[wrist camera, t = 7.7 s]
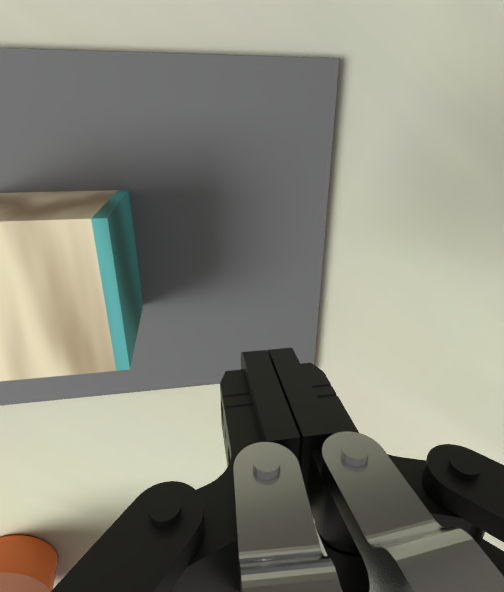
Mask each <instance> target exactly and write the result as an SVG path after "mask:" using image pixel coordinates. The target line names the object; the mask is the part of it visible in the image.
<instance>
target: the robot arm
mask: <svg viewBox="0 0 504 592" xmlns="http://www.w3.org/2000/svg"><path fill="white" fill-rule="evenodd" d="M220 392H221V418H222V430H223V437H224V444H225V450H226V458H227V465H228V467H227V469H226V470H225V472H224V473H223V474H222V475H221V476H220V477H219V478H218V479H216V480H215V481H213V482H212V483H210V484H208V485H206V486H203V487H201V488H199V489H197V490H195V489H194V488H193V487H191V486H190V485H188V484H185V483H182V482H175V481H170V482H163V483H159V484H157V485H154V486H152V487H150V488H148V489H147V490H145V491H144V492H143V493H141V494H140V495H139V496H138V497H137V498H136V499H135V500H134V502H133V503H132V504H131V505H130V506H129V507H128V508H127V509H126V510H125V511H124V512H123V514H122V515H121V516H120V517H119V518H118V519H117V520H116V521H115V522H114V523H113V524H112V526H111V527H110V528H109V529H108V530H107V531H106V532H105V533H104V534H103V535H102V536H101V537H100V539H99V540H98V541H97V542H96V543H95V544H94V545H93V546H92V547H91V548H90V549H89V551H88V552H87V553H86V554H85V555H84V556H83V557H82V558H81V559H80V560H79V561H78V563H77V564H76V565H75V566H74V567H73V568H72V569H71V570H70V571H69V572H68V573H67V575H66V576H65V577H64V578H63V579H62V580H61V581H60V582H59V583H58V584H57V585H56V587H55V588H54V589H53V590H52V591H51V592H504V551H502V550H500V549H499V548H497V547H495V546H494V545H492V544H490V543H489V542H487V541H485V540H484V539H482V538H483V536H484V533H485V532H487V533H488V534H490V535H492V536H494V537H495V538H497V539H499V540H500V541H502V542H504V465H502V464H500V463H498V462H496V461H494V460H491V459H489V458H487V457H485V456H483V455H481V454H479V453H477V452H475V451H473V450H470V449H468V448H465V447H462V446H458V445H451V444H444V445H439V446H436V447H434V448H433V449H431V450H430V452H429V453H428V456H427V460H426V461H425V460H417V459H410V458H402V457H396V456H392V455H388V454H386V452H385V451H384V449H383V448H382V447H381V446H380V445H379V444H378V443H377V442H376V441H374V440H373V439H372V438H370V437H368V436H366V435H363V434H360V433H359V432H358V430H357V428H356V427H355V425H354V423H353V422H352V420H351V418H350V416H349V415H348V413H347V411H346V410H345V408H344V406H343V404H342V403H341V401H340V399H339V398H338V396H336V392H335V391H334V389H333V387H332V386H331V384H330V382H329V380H328V379H327V377H326V375H325V373H324V372H323V371H322V370H320V369H319V368H318V367H316V366H315V365H314V364H312V363H301V364H300V362H299V360H298V358H297V356H296V354H295V352H294V350H293V348H281V349H270V350H267V351H266V350H260V351H248V352H241V370H230V371H225V374H224V376H223V378H222V380H221V382H220ZM313 519H314V520H313ZM314 522H315V523H314Z"/></svg>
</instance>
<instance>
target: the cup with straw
mask: <svg viewBox="0 0 504 592" xmlns="http://www.w3.org/2000/svg"><path fill="white" fill-rule="evenodd" d="M56 568H57V554H56V552H55V550H54V549H53V547H52V546H51V545H49V544H48V543H47V542H45V541H43V540H41V539H38V538H35V537H31V536H24V535H12V536H5V537H1V538H0V592H51V591H52V590H53V585H54V579H55V573H56Z"/></svg>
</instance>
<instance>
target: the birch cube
mask: <svg viewBox="0 0 504 592" xmlns="http://www.w3.org/2000/svg"><path fill="white" fill-rule="evenodd" d="M142 308H143V300H142V292H141V284H140V275H139V267H138V259H137V251H136V243H135V235H134V227H133V219H132V210H131V202H130V194H129V190H105V191H59V192H14V193H0V381H10V380H21V379H32V378H43V377H54V376H65V375H76V374H87V373H98V372H109V371H120V370H130V367H131V362H132V357H133V352H134V347H135V343H136V338H137V333H138V328H139V323H140V318H141V313H142Z"/></svg>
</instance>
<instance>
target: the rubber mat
mask: <svg viewBox="0 0 504 592" xmlns="http://www.w3.org/2000/svg"><path fill="white" fill-rule="evenodd" d="M338 70H339V58H309V57H276V56H244V55H212V54H180V53H147V52H115V51H83V50H51V49H18V48H0V193H14V192H59V191H105V190H129V194H130V202H131V210H132V219H133V227H134V235H135V243H136V251H137V259H138V267H139V275H140V284H141V292H142V300H143V308H142V313H141V318H140V323H139V328H138V333H137V338H136V343H135V347H134V352H133V357H132V362H131V367H130V370H120V371H109V372H98V373H87V374H76V375H65V376H54V377H43V378H32V379H21V380H10V381H0V405H9V404H19V403H29V402H39V401H49V400H59V399H70V398H80V397H90V396H100V395H110V394H120V393H130V392H140V391H150V390H160V389H170V388H180V387H190V386H200V385H210V384H220V382H221V380H222V378H223V376H224V374H225V371H230V370H241V352H248V351H260V350H266V351H267V350H270V349H281V348H293V350H294V352H295V354H296V356H297V358H298V360H299V362H300V364H301V363H312V364H314V362H315V350H316V338H317V326H318V314H319V302H320V289H321V277H322V265H323V253H324V241H325V228H326V216H327V204H328V192H329V180H330V168H331V155H332V143H333V131H334V119H335V107H336V94H337V82H338Z"/></svg>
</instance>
